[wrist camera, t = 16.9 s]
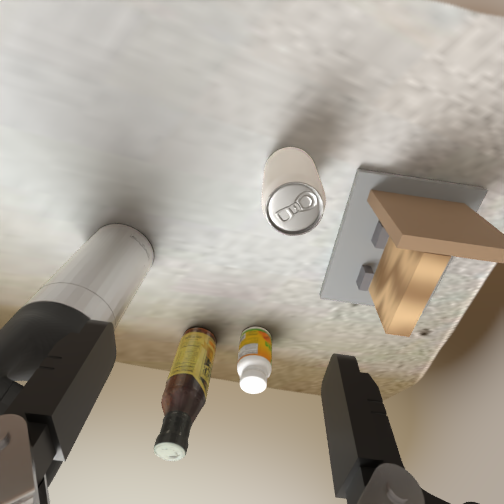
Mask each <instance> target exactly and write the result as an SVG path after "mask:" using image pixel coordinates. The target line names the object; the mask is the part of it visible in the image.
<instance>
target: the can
mask: <svg viewBox="0 0 504 504" xmlns="http://www.w3.org/2000/svg"><path fill="white" fill-rule="evenodd" d="M325 205H326V197H325V192H324V189H323V186H322V183H321V180H320V177H319V174H318V172H317V169H316V166H315V164H314V162H313V160H312V158H311V157H310V156H309V155H308V154H307V153H306V152H305V151H304V150H302V149H299V148H296V147H285V148H282V149H279V150H277V151H276V152H274V153H273V154H272V155H271V156H270V157H269V159H268V160H267V162H266V164H265V168H264V175H263V186H262V210H263V213H264V216H265V217H266V219H267V220H268V222H269V224H270V225H271V226H272V227H273V228H274V229H275V230H276V231H278V232H280V233H282V234H285V235H290V236H297V235H302V234H305V233H307V232H309V231H311V230H312V229H314V228H315V227H316V226H317V225H318V223H319V222H320V220H321V218H322V216H323V212H324V210H325Z"/></svg>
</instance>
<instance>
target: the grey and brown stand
mask: <svg viewBox="0 0 504 504" xmlns="http://www.w3.org/2000/svg"><path fill="white" fill-rule="evenodd" d="M487 191H488V190H486V189H485V188H483V187H478V186H471V185H465V184H458V183H451V182H444V181H438V180H431V179H424V178H417V177H411V176H404V175H397V174H390V173H384V172H377V171H370V170H363V169H357V172H356V175H355V179H354V182H353V185H352V189H351V192H350V195H349V198H348V202H347V205H346V208H345V212H344V215H343V218H342V222H341V225H340V228H339V232H338V235H337V238H336V241H335V245H334V248H333V251H332V255H331V258H330V261H329V265H328V268H327V271H326V275H325V278H324V281H323V284H322V288H321V291H320V298H321V299H326V300H333V301H340V302H347V303H355V304H362V305H369V306H375V305H374V303H373V300H372V298H371V295H370V293H369V290H368V289H369V287H370V284H371V282H372V279H373V277H374V274H375V271H376V269H377V266H378V264H379V261H380V259H381V256H382V254H383V251H384V249H385V246H386V244H387V241H388V238H389V236H390V238H391V239H392V241H393V243H394V244H395V246H396V247H397V248H400V249H407V250H414V251H421V252H428V253H435V254H442V255H449V256H451V258H450V260H449V262H448V264H447V266H446V268H445V270H444V272H443V273H442V275H441V277H440V279H439V281H438V283H437V285H436V287H435V289H434V291H433V293H434V292H435V290H436V288H437V286H438V284H439V282H440V280H441V278H442V276H443V275H444V273H445V271H446V269H447V267H448V265H449V263H450V261H451V259H452V258H453V256H456V257H463V258H470V259H477V260H484V261H491V262H498V263H504V234H503V233H502V232H500V231H499V230H498V229H497V228H495V227H494V226H493V225H491V224H490V223H489V222H488V221H486V220H485V219H484V218H483V217H481V216H480V215H479V214H477V213H476V212H477V210H478V208H479V206H480V205H481V203H482V201H483V199H484V197H485V195H486V193H487ZM433 293H432V294H431V296H430V298H429V300H428V302H427V304H426V306H425V308H424V310H425V309H426V307H427V305H428V303H429V301H430V299H431V297H432V295H433ZM424 310H423V312H424ZM423 312H422V313H423Z"/></svg>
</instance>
